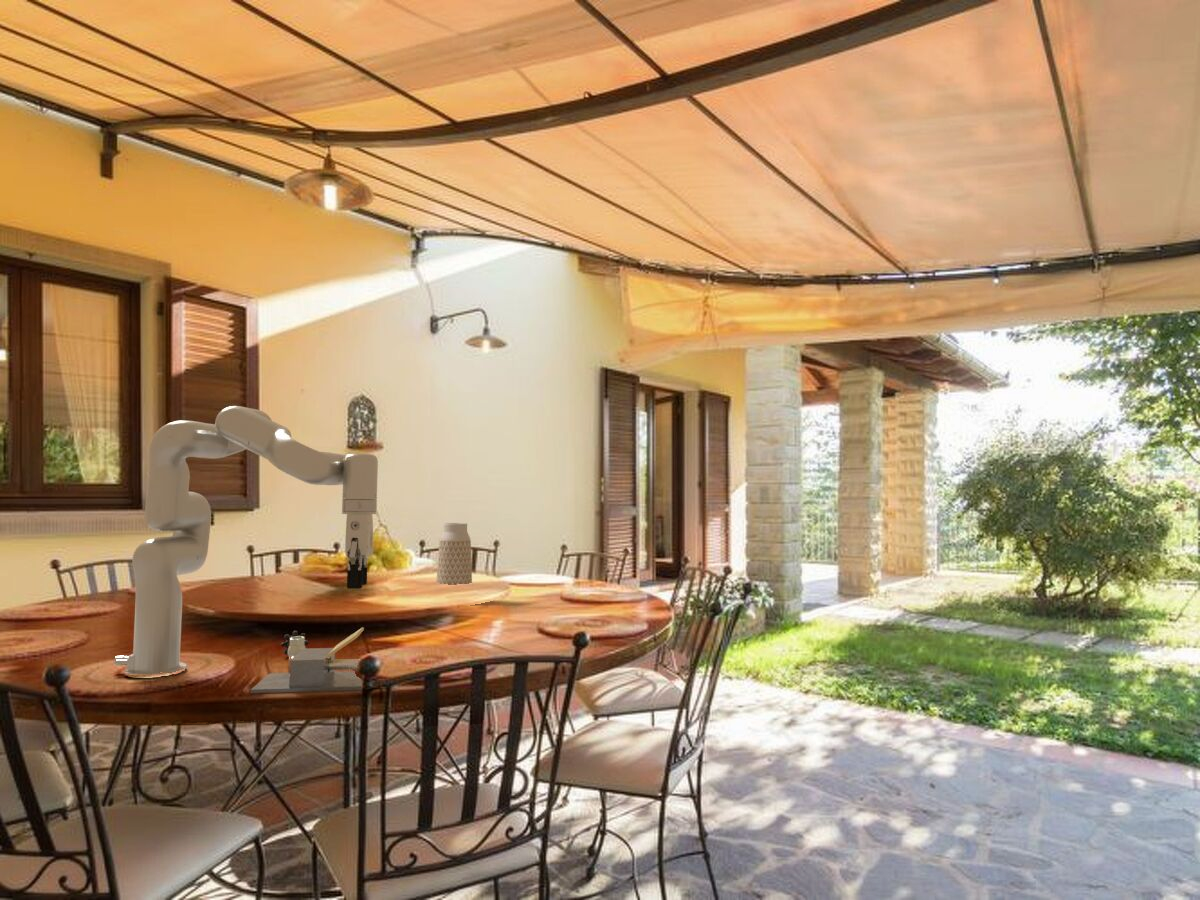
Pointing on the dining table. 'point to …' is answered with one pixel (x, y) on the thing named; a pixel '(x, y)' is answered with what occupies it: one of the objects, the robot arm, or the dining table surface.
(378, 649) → the dining table surface
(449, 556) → the vase
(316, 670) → the grey base plate
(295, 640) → the valve
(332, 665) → the pin
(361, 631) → the keeper flap
